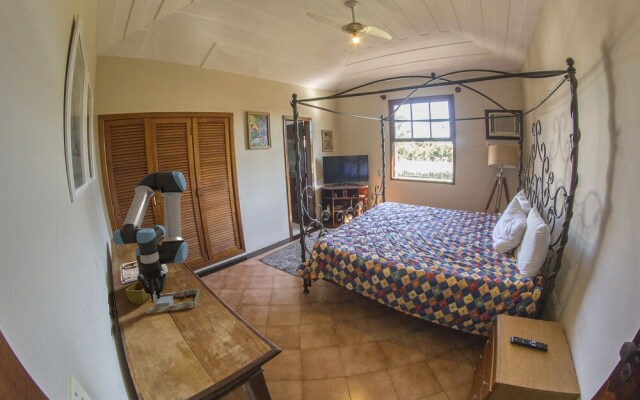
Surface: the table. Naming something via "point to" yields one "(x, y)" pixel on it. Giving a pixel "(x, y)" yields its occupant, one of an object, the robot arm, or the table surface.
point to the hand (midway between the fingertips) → (157, 304)
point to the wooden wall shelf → (177, 306)
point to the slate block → (165, 301)
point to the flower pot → (137, 293)
